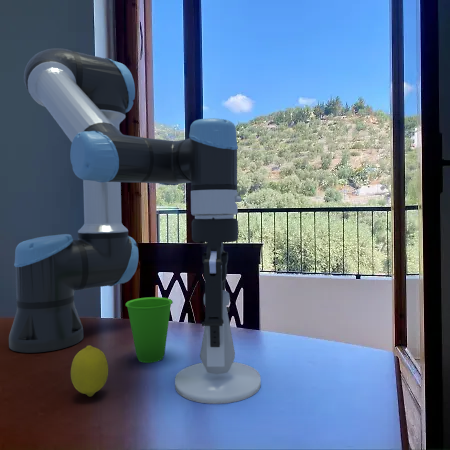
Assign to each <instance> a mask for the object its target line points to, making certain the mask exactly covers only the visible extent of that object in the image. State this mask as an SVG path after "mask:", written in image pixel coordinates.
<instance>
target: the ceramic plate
mask: <svg viewBox="0 0 450 450" xmlns="http://www.w3.org/2000/svg"><path fill="white" fill-rule="evenodd" d="M261 382H262V381H261V374H260V373H259V371H258V370H257V369H256V368H254V367H252V366H250V365H248V364H244V363H241V362H236V361H233V363H232V365H231V368H230V370H229V371H228V372H227V373H221V374H213V373H208V372H207V371H206V368H205V366H204V365H203V363H202V362H199V363H196V364H192V365H189V366H187V367H184V368H183V369H181V370H179V372H177V374H176V375H175V378H174V387H175V388H174V389H175V391H176V392H177V394H178V395H179V396H181V397H182V398H184V399H186V400H188V401H192V402H196V403H202V404H210V405H213V404H214V405H220V404H224V405H225V404H230V403H231V404H232V403H235V402H240V401H243V400H246V399H248V398H251V397H253V396H254V395H256V394H257V393H258V392H259V391H260V389H261Z"/></svg>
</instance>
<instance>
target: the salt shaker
mask: <svg viewBox="0 0 450 450" xmlns="http://www.w3.org/2000/svg"><path fill="white" fill-rule="evenodd" d="M230 303H231V297H230V293H229V292H228V291H227V290H225V291H224V290H223V320H224V323H223V324H224V359H225V365H224V367H207V336H206V326H204V330H203V334H202V335H203V336H202V340H201V346H200V353H199V359H200V361H201V363H203V365H204V366H205V368H206V371H207V372H208V373H213V374H221V373H227V372H228V371H229V370H230V368H231V365H232V363H233V362H235V361H234V360H235V355H236V352H235V351H236V350H235V346H234V345H235V344H234V340H233V333H232V330H231V323H230V318H229V314H228V313H229V312H227V307H228V306H229V305H230ZM203 305H204V306H205V293H204V294H203Z"/></svg>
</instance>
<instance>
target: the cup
mask: <svg viewBox="0 0 450 450" xmlns="http://www.w3.org/2000/svg"><path fill="white" fill-rule="evenodd" d="M172 304H174V302H173V299H171V298H169V297H159V296H151V297H150V296H149V297H141V298H140V297H139V298H135V299H131V300H128V301H127V302H126V303H125V307H127V311H128V317H129V322H130V328H131V333H132V339H133V343H134V349H135V354H136V358H137V360H138V361H139V362H141V363H145V364H146V363H147V364H148V363H151V364H152V363H157V362H160V361H162V360H163V358H164V356H165V354H166V353H165V351H166V344H167V337H168V331H169V329H168V328H169V322H170V314H171V306H172Z"/></svg>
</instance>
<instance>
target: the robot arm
mask: <svg viewBox="0 0 450 450" xmlns="http://www.w3.org/2000/svg"><path fill="white" fill-rule="evenodd" d="M23 83H24V85H25V89H26V91H27V92H28V94H29V95H30V97H31V98H32V99H33V100H34V101H35V102H36V103H37V104H38V105H39V106H42V107H44V108H46V110H47V111H48V113H49V114H50V115H51V116H52V118H53V119H54V121H56V123H57V124H58V126H59V127H60V128H61V130H62V131H63V133H64V134H65V135H66V137H67V138H68V139H69V141H70V142H71V145H70V157H69V158H70V164H71V166H72V171H73V173H74V174H75V176H76V177H77V178H79V179H80V180H82V181H83V182H82V183H83V184H82V185H83V187H82V188H83V218H84V220H83V221H84V223H83V225H82V226H81V228H79V229H78V230H77V239H74V238H73V236H72V234H69V233H62V234H61V233H60V234H55V235H46V236H40V237H39V236H38V237H35V238H34V237H33V238H31V239H27V240H24V241H21V242H19V243H18V244H17V245H16V247H15V253H14V264H13V266H14V267H15V269H14V270H15V292H16V293H15V294H16V295H15V297H16V312H15V315H14V319H13V323H12V325H11V328H10V332H9V335H8V348H9V349H10V350H11V351H13V352H17V353H26V354H27V353H28V354H29V353H30V354H31V353H33V354H34V353H44V352H51V351H56V350H61V349H65V348H68V347H71V346H74V345H77V344H79V343H80V342H81V341H83V339H84V328H83V327H84V326H83V324H82V321H81V319H80V315H79V314H78V310H77V309H76V305H75V298H74V297H75V292H76V291H81V290H90V289H94V288H101V287H114V286H116V285H121V284H125V283H127V282H129V281H130V280H131V279H132V278H133V276H134V275H135V273H136V271H137V268H138V265H139V264H138V263H139V248H138V246H137V242H136V240H135V239H134V237H131V236H130V235H129V230H128V228H127V227H126V226H124V225H123V223H122V195H121V194H122V191H121V190H122V186H121V185H122V184H121V183H140V184H141V183H143V184H144V183H145V184H158V185H165V186H170V185H171V186H177V185H180V184H189V183H191V184H190V212H191V213H190V214H191V215H192V216H194V219H192V221H191V239H192V241H193V242H194V243H201V244H202V243H203V244H204V243H206V252H205V251H204V252H203V254H202V256H201V259H202V260H201V262H202V264H203V279H204V294H205V305H204V306H205V307H204V308H205V310H204V311H205V312H204V313H205V316H204V317H205V318H204V321H201V326H202V327H205V326H206V336H207V367H224V365H225V359H224V324H223V323H224V320H223V290H224V291H226V279H227V276H228V267H227V266H228V262H229V252H228V251H225V250H224V243H232V242H233V243H234V242H236V241H238V240H239V220H238V218H237V217H236V218H235V217H234V216H236V215H238V210H239V209H238V203H241V202H242V197H241V195H237V194H238V148H239V146H238V138H237V128H236V125H235V123H233V122H232V121H231V120H228V119H224V118H215V117H214V118H210V117H209V118H201V119H200V118H199V119H196V120H194V121H193V122H192V123H191V124H190V126H189V127H190V128H189V134H188V137H189V138H186V139H185V138H184V139H181V140H170V139H169V140H167V139H157V138H149V137H147V138H146V137H141V136H134V135H127V134H123V133H122V132H121V130H120V124H121V123H122V122H123V121H124V120H125V119H126V113H128V112H130V110H132V108H133V105H134V100H135V99H136V98H135V97H136V88H135V87H136V86H135V81H134V78H133V75H132V72H131V71H130V69H129V68H128V67H127V65H125V64H123V63H121V62H118V61H115V60H113V59H110V58H109V57H100V56H96V55H91V54H86V53H83V52H78V51H75V50H70V49H66V48H63V47H62V48H60V47H59V48H57V47H56V48H48V49H44V50H41V51H39V52H37V53H36V54H33V56H32V57H31V58H30V59H29V60H28V62H27V64H25V67H24V73H23ZM226 307H227V312H228V313H230V306H226Z"/></svg>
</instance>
